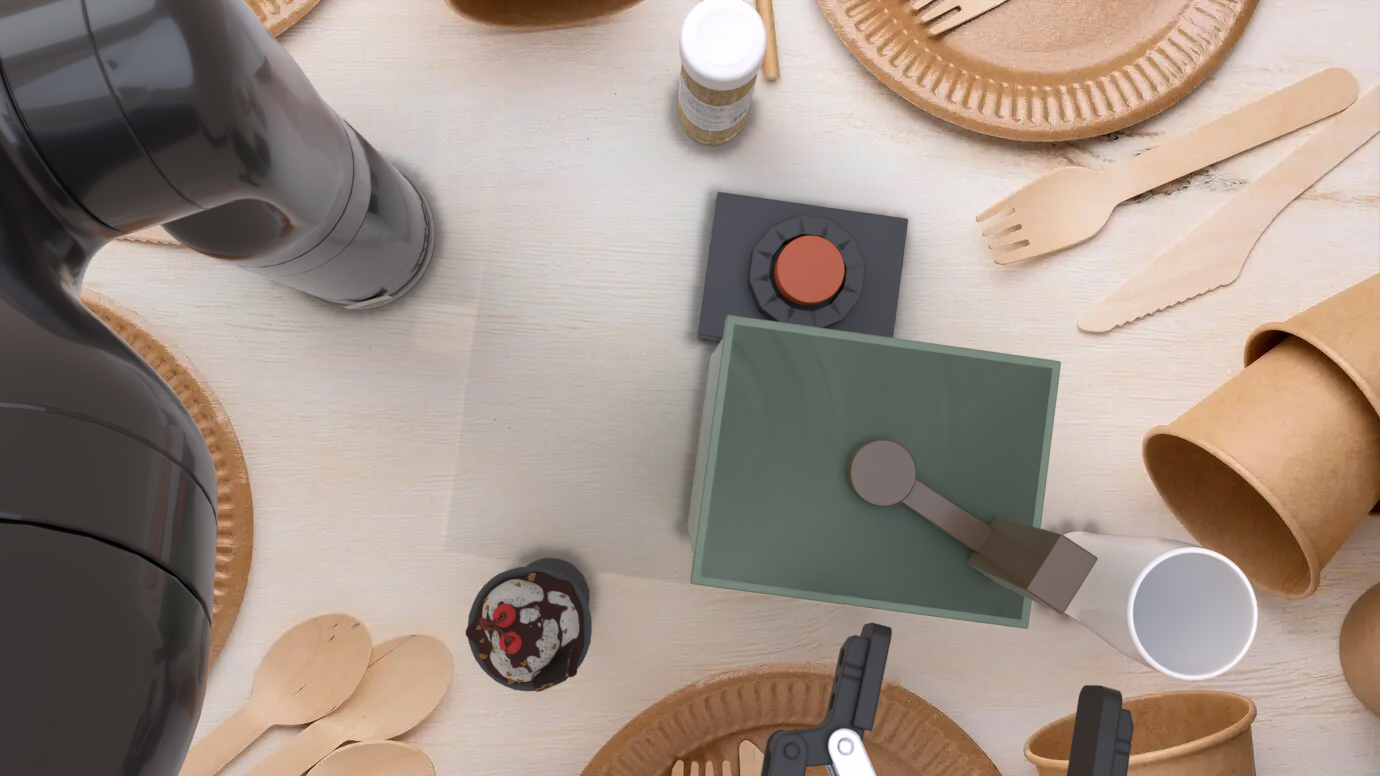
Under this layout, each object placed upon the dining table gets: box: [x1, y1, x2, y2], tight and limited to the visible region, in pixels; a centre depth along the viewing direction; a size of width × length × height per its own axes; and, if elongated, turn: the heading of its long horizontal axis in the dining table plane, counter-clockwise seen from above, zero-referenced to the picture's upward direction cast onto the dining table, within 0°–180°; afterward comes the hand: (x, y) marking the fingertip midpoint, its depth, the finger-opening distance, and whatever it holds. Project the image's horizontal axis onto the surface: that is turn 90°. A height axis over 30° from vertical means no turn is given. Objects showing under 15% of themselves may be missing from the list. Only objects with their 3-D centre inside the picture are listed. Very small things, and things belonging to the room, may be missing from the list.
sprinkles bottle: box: [677, 0, 768, 146], centre depth 61 cm, size 5×5×14 cm
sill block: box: [686, 315, 1062, 630], centre depth 56 cm, size 15×12×22 cm
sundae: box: [465, 557, 593, 693], centre depth 59 cm, size 7×7×15 cm
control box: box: [696, 191, 909, 342], centre depth 65 cm, size 12×9×4 cm
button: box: [774, 236, 845, 306], centre depth 63 cm, size 4×4×2 cm
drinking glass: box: [1063, 530, 1259, 682], centre depth 60 cm, size 7×7×15 cm
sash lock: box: [846, 439, 1098, 615], centre depth 41 cm, size 8×3×8 cm, turn 57°
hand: (988, 656), depth 39 cm, fingers open, 8 cm apart
